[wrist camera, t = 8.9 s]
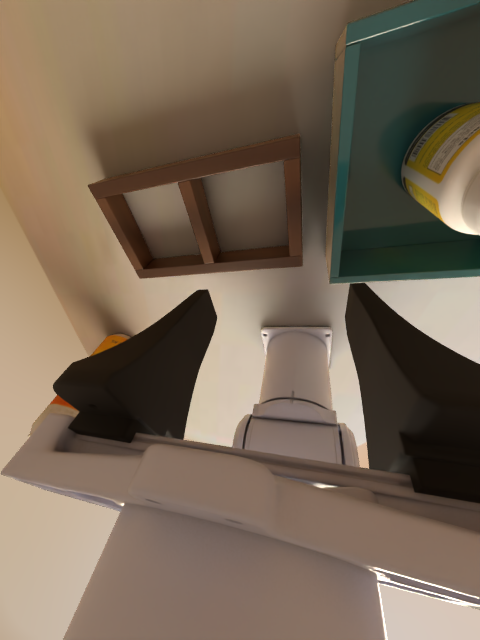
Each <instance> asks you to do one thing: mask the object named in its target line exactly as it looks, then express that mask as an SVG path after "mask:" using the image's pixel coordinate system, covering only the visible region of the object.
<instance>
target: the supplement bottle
mask: <svg viewBox="0 0 480 640" xmlns="http://www.w3.org/2000/svg"><path fill="white" fill-rule="evenodd" d="M401 180H402V184H403V187H404V189H405V190H406V192H407V193H408V194H409V195H410V196H411V197H412V198H414V199H415V200H416V201H417V202H419V203H420V204H421V205H423V206H424V207H425V208H426V209H428V210H429V211H430V212H431V213H433V214H434V215H435V216H436V217H438V218H439V219H440V220H441V221H443V222H444V223H445V224H446V225H448V226H449V227H450V228H452V229H454V230H456V231H459V232H462V233H466V234H473V235H479V236H480V102H477V103H468V104H464V105H460V106H457V107H455V108H452V109H450V110H448V111H446V112H444V113H443V114H441V115H439V116H438V117H436V118H435V119H434V120H432V121H431V122H430V123H429V124H428V125H426V126H425V127H424V128H423V129H422V131H421V132H420V133H419V134H418V135H417V136H416V138H415V139H414V140H413V142H412V143H411V145H410V146H409V148H408V150H407V152H406V154H405V157H404V160H403V163H402V168H401Z"/></svg>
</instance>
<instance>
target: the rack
mask: <svg viewBox="0 0 480 640" xmlns="http://www.w3.org/2000/svg"><path fill="white" fill-rule="evenodd" d="M283 160H284V174H285V190H286V207H287V223H288V239H289V245H285V246H275V247H266V248H256V249H246V250H236V251H226V252H220V248H219V244H218V240H217V236H216V233H215V229H214V225H213V222H212V218H211V214H210V210H209V207H208V203H207V199H206V196H205V192H204V188H203V185H202V181H201V177H205V176H210V175H215V174H220V173H225V172H229V171H234V170H239V169H244V168H249V167H254V166H259V165H264V164H268V163H273V162H278V161H283ZM176 182H178V185H179V188H180V191H181V194H182V197H183V200H184V203H185V206H186V209H187V212H188V215H189V219H190V222H191V225H192V228H193V231H194V234H195V237H196V240H197V243H198V246H199V249H200V252H201V254H197V255H187V256H177V257H168V258H158V259H153V257H152V255H151V253H150V251H149V248H148V246H147V244H146V242H145V240H144V238H143V236H142V234H141V232H140V230H139V228H138V226H137V224H136V222H135V220H134V217H133V215H132V213H131V211H130V209H129V207H128V205H127V203H126V201H125V199H124V197H123V195H122V193H127V192H132V191H137V190H142V189H147V188H151V187H156V186H161V185H166V184H171V183H176ZM88 187H89V189H90V191H91V193H92V194H93V196H94V198H95V199H96V201H97V203H98V205H99V206H100V208H101V210H102V212H103V214H104V215H105V217H106V219H107V221H108V223H109V224H110V226H111V228H112V230H113V231H114V233H115V235H116V237H117V239H118V240H119V242H120V244H121V246H122V248H123V249H124V251H125V253H126V255H127V256H128V258H129V260H130V262H131V264H132V265H133V267H134V269H135V271H136V273H137V275H138V276H139V278H140V279H141V278H155V277H168V276H181V275H194V274H208V273H221V272H234V271H248V270H261V269H274V268H288V267H301V266H303V248H302V200H301V153H300V133H299V134H295V135H290V136H286V137H282V138H277V139H273V140H269V141H265V142H260V143H256V144H252V145H247V146H243V147H239V148H235V149H230V150H226V151H222V152H217V153H213V154H209V155H205V156H200V157H196V158H192V159H187V160H183V161H179V162H175V163H170V164H166V165H162V166H157V167H153V168H149V169H145V170H140V171H136V172H132V173H128V174H123V175H119V176H115V177H110V178H106V179H103V180H100V181H98V182H95V183H92V184H89V185H88Z"/></svg>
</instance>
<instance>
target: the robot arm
mask: <svg viewBox="0 0 480 640" xmlns="http://www.w3.org/2000/svg"><path fill="white" fill-rule="evenodd" d="M216 321H217V315H216V312H215V309H214V306H213V303H212V300H211V297H210V294H209V291H208V290H197V291H196V292H194V293H193V294H192V295H190V296H189V297H188V298H187V299H185V300H184V301H183V302H182V303H181V304H179V305H178V306H177V307H176V308H174V309H173V310H172V311H171V312H169V313H168V314H167V315H165V316H164V317H163V318H161V319H160V320H159V321H157V322H156V323H154V324H153V325H151V326H150V327H148V328H147V329H145V330H143V331H142V332H140V333H139V334H137V335H135V336H133V337H131V338H129V339H127V340H126V341H124V342H122V343H120V344H118V345H116V346H114V347H111V348H109V349H107V350H105V351H102V352H100V353H98V354H95V355H92V356H90V357H87V358H85V359H82V360H79V361H76V362H73V363H72V364H71V365H70V366H69V367H68V368H67V370H65V371H64V373H63V374H62V375H61V376H60V377H59V378H58V379H57V380H56V382H55V383H54V384H53V389H54V391H55V392H56V394H57V395H58V396H59V397H61V398H62V399H63V400H65V401H66V402H67V403H69V404H70V405H71V406H73V407H74V408H75V409H77V410H78V411H79V413H78V415H77V416H76V417H72V416H70V415H64V414H58V413H49V414H48V416H47V417H46V418H45V419H44V420H43V422H42V423H41V424H40V425H39V426H38V428H37V429H36V430H35V431H34V433H33V434H32V435H31V436H30V437H29V439H28V440H27V441H26V442H25V443H24V445H23V446H22V447H21V448H20V450H19V451H18V452H17V453H16V454H15V456H14V457H13V458H12V459H11V460H10V462H9V463H8V464H7V465H6V466H5V468H4V469H3V470H2V471H1V474H2V475H4V476H7V477H10V478H13V479H15V480H18V481H21V482H24V483H27V484H30V485H33V486H36V487H38V488H41V489H44V490H47V491H51V492H54V493H58V494H61V495H65V496H68V497H72V498H75V499H79V500H82V501H86V502H89V503H93V504H96V505H100V506H103V507H106V508H110V509H113V510H117V511H120V514H119V517H118V519H117V521H116V523H115V525H114V528H113V530H112V532H111V534H110V536H109V539H108V541H107V543H106V545H105V548H104V550H103V552H102V554H101V557H100V559H99V561H98V563H97V565H96V567H95V570H94V572H93V574H92V576H91V579H90V581H89V583H88V585H87V587H86V590H85V592H84V594H83V597H82V599H81V601H80V603H79V605H78V607H77V610H76V612H75V614H74V617H73V619H72V621H71V623H70V625H69V627H68V630H67V632H66V634H65V636H64V638H63V640H387V634H386V627H385V622H384V615H383V609H382V602H381V596H380V589H379V584H383V585H386V586H390V587H394V588H398V589H402V590H406V591H409V592H413V593H417V594H421V595H425V596H428V597H433V598H436V599H440V600H444V601H448V602H452V603H455V604H460V605H464V606H467V607H471V608H475V609H479V610H480V364H478V363H476V362H474V361H472V360H470V359H468V358H466V357H464V356H462V355H460V354H458V353H456V352H454V351H453V350H451V349H449V348H447V347H446V346H444V345H442V344H440V343H439V342H437V341H435V340H434V339H432V338H430V337H429V336H427V335H426V334H424V333H423V332H421V331H420V330H418V329H417V328H415V327H414V326H413V325H411V324H410V323H409V322H407V321H406V320H405V319H403V318H402V317H401V316H400V315H398V314H397V313H396V312H395V311H394V310H392V309H391V308H390V307H389V306H388V305H387V304H386V303H385V302H384V301H383V300H381V299H380V298H379V297H378V296H377V295H376V294H375V293H374V292H373V291H372V290H371V289H370V288H369V287H368V286H367V285H366V284H365V283H350V287H349V293H348V300H347V307H346V313H345V321H346V330H347V336H348V340H349V344H350V348H351V351H352V355H353V359H354V363H355V366H356V370H357V374H358V379H359V385H360V391H361V398H362V406H363V414H364V421H365V430H366V439H367V448H368V459H369V469H367V468H361V467H359V466H360V465H359V458H358V452H357V446H356V442H355V438H354V435H353V433H352V431H351V430H350V429H349V428H348V427H347V426H346V424H344V423H338V424H337V418H336V411H334V410H333V408H332V398H331V387H330V377H329V365H330V354H331V343H332V328H331V327H263V328H261V335H262V341H263V346H264V351H265V356H266V360H265V367H264V374H263V381H262V387H261V394H260V401H259V404H254V408H253V414H247V415H245V416H244V418H243V419H242V420H241V421H240V422H239V424H238V426H237V428H236V432H235V435H234V440H233V446H232V447H226V446H220V445H213V444H207V443H200V442H194V441H187V440H183V439H184V433H185V427H186V421H187V417H188V412H189V407H190V402H191V398H192V394H193V390H194V386H195V382H196V379H197V375H198V372H199V369H200V366H201V363H202V361H203V358H204V356H205V353H206V351H207V348H208V346H209V343H210V341H211V338H212V336H213V333H214V329H215V325H216Z"/></svg>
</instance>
